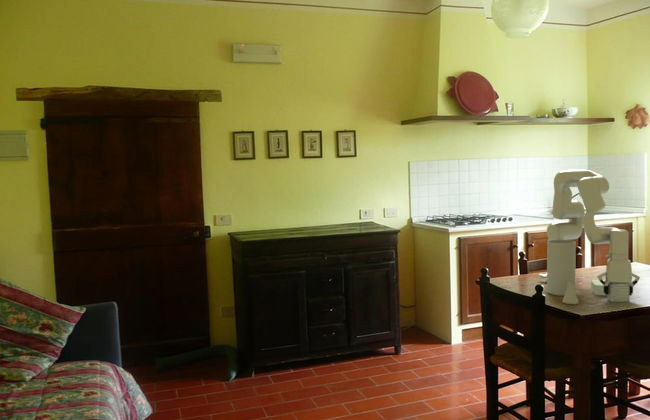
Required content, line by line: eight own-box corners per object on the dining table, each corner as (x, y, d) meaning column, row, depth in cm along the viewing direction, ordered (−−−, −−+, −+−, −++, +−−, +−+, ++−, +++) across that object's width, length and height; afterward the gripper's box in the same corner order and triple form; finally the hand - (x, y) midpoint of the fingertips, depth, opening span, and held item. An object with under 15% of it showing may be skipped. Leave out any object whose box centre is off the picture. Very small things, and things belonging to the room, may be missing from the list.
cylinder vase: (550, 296, 266) (551, 243, 264) (544, 290, 279) (544, 239, 276) (578, 296, 265) (579, 243, 262) (570, 290, 277) (571, 239, 275)
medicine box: (624, 299, 257) (624, 280, 256) (629, 301, 253) (630, 282, 252) (607, 300, 257) (607, 281, 256) (612, 302, 253) (612, 283, 252)
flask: (564, 300, 259) (564, 278, 258) (581, 302, 254) (581, 280, 254) (559, 303, 253) (559, 281, 253) (576, 305, 249) (576, 283, 248)
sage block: (594, 295, 267) (594, 285, 266) (590, 289, 278) (591, 279, 278) (622, 296, 263) (622, 286, 263) (618, 290, 275) (618, 280, 274)
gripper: (599, 258, 252) (599, 296, 253) (642, 258, 248) (641, 297, 249) (595, 255, 259) (595, 292, 260) (637, 255, 255) (636, 293, 256)
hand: (618, 294), depth 255 cm, fingers open, 9 cm apart
